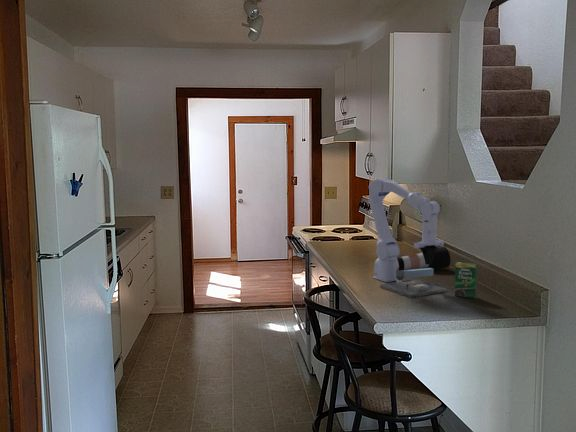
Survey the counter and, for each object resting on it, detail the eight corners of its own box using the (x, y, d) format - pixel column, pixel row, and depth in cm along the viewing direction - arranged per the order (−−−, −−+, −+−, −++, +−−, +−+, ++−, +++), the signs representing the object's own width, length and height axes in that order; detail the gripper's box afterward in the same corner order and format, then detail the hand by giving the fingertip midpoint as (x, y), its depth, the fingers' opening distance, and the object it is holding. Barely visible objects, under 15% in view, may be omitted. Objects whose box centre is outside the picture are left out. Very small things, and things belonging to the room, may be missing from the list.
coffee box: (453, 295, 208) (454, 262, 207) (455, 294, 211) (456, 261, 209) (474, 299, 204) (476, 265, 203) (476, 297, 207) (478, 263, 205)
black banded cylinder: (377, 280, 252) (372, 259, 255) (444, 269, 258) (438, 250, 261) (384, 275, 242) (378, 253, 246) (452, 264, 249) (446, 244, 252)
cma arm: (398, 279, 221) (398, 272, 221) (394, 277, 224) (394, 270, 224) (434, 275, 227) (434, 269, 227) (429, 274, 230) (429, 267, 230)
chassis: (380, 287, 221) (380, 280, 221) (414, 281, 230) (415, 274, 230) (410, 297, 206) (411, 290, 205) (446, 291, 215) (446, 284, 215)
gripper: (423, 233, 211) (422, 267, 212) (449, 231, 218) (448, 264, 220) (410, 231, 217) (409, 264, 218) (436, 228, 224) (435, 260, 226)
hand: (428, 264), depth 219 cm, fingers closed
